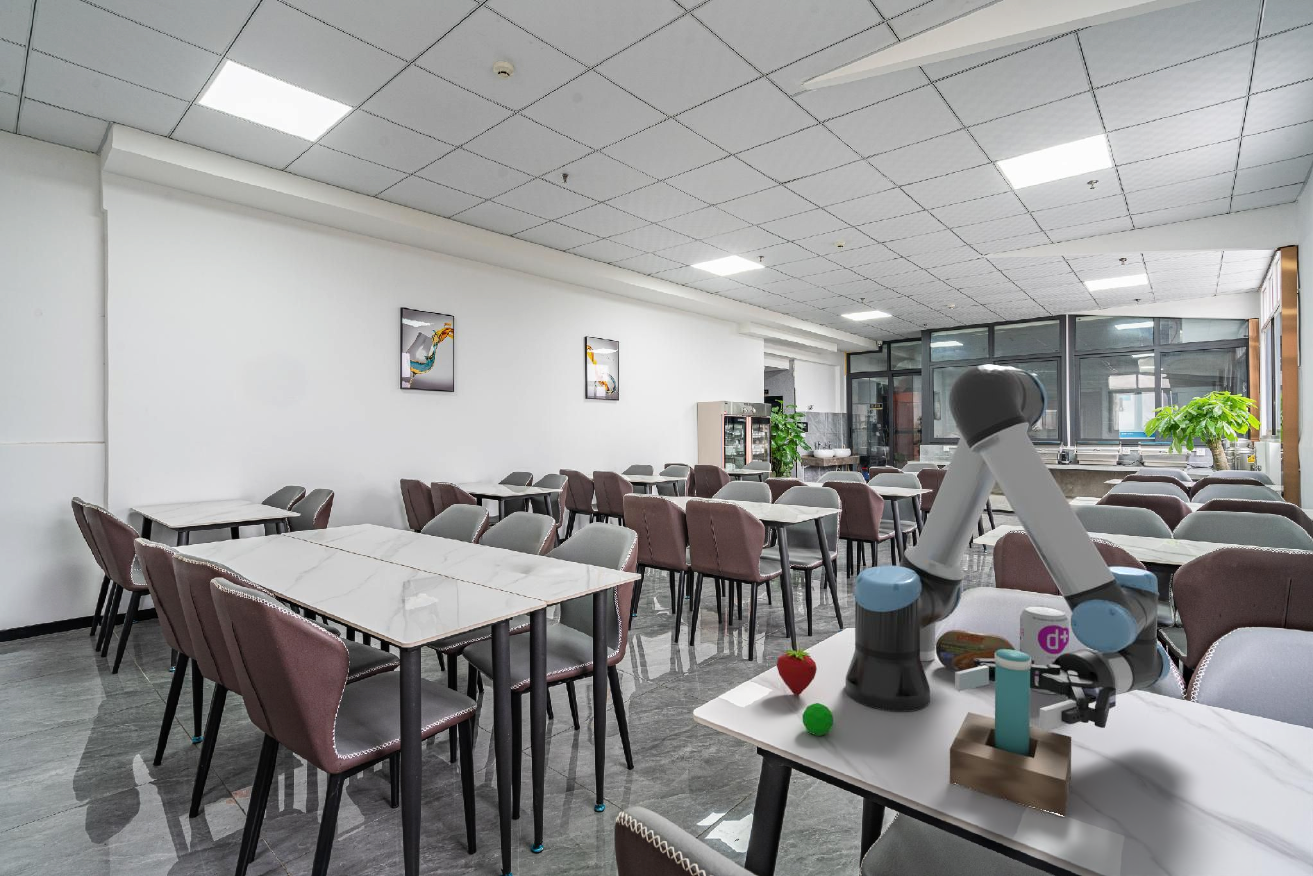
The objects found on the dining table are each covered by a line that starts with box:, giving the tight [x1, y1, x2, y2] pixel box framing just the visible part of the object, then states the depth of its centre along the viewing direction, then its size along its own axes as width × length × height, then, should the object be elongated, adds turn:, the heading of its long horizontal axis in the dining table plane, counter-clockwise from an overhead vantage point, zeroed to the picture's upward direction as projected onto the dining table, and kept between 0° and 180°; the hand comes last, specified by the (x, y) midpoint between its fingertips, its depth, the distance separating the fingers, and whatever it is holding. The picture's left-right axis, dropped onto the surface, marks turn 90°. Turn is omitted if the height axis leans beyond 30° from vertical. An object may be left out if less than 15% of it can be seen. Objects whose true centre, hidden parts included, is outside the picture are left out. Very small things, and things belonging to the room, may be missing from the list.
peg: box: [994, 649, 1031, 757], centre depth 93 cm, size 5×5×18 cm
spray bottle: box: [920, 623, 936, 662], centre depth 141 cm, size 7×7×18 cm
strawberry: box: [776, 641, 818, 696], centre depth 121 cm, size 6×8×10 cm
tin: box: [935, 629, 1016, 673], centre depth 131 cm, size 15×3×8 cm, turn 58°
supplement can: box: [1019, 604, 1070, 695], centre depth 124 cm, size 8×8×15 cm
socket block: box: [949, 711, 1072, 817], centre depth 93 cm, size 14×14×5 cm
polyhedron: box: [802, 702, 834, 736], centre depth 106 cm, size 5×5×5 cm
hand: (996, 699), depth 92 cm, fingers open, 13 cm apart
